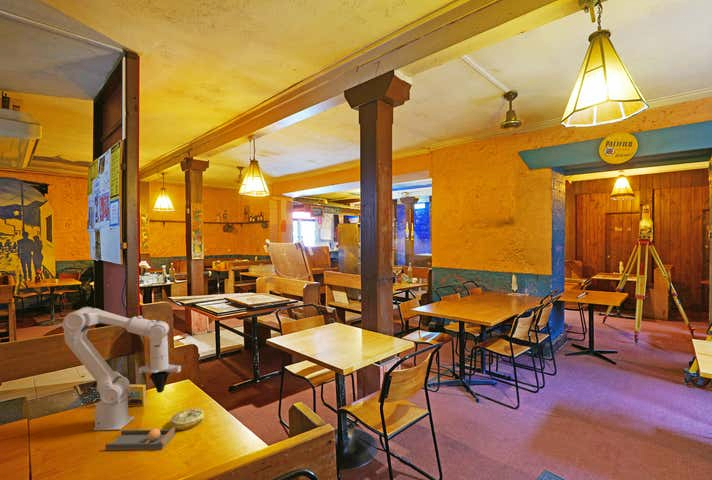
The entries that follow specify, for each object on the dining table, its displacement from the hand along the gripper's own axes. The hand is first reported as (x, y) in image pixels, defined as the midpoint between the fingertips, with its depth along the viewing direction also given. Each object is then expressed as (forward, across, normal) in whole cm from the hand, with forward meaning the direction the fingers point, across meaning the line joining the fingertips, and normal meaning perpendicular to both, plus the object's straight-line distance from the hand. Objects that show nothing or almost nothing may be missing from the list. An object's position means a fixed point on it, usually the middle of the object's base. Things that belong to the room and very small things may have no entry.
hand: (160, 391), depth 128 cm
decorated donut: (+10, +12, -4) cm, 16 cm away
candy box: (+10, -20, +10) cm, 25 cm away
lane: (+10, +2, -15) cm, 18 cm away
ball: (+8, +6, -15) cm, 18 cm away
